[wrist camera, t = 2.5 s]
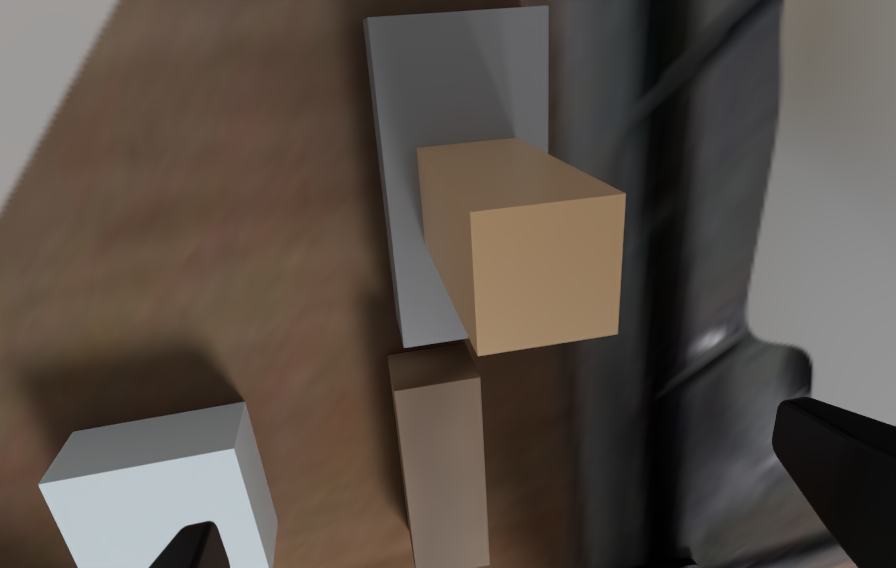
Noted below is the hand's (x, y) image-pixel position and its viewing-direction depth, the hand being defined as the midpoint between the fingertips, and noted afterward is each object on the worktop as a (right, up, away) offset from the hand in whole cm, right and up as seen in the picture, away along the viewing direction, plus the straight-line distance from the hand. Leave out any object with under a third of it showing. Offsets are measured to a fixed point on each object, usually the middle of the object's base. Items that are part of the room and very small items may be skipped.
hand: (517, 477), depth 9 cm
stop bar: (-2, -4, +15) cm, 15 cm away
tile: (-11, -4, +14) cm, 18 cm away
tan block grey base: (-1, +7, +11) cm, 13 cm away
